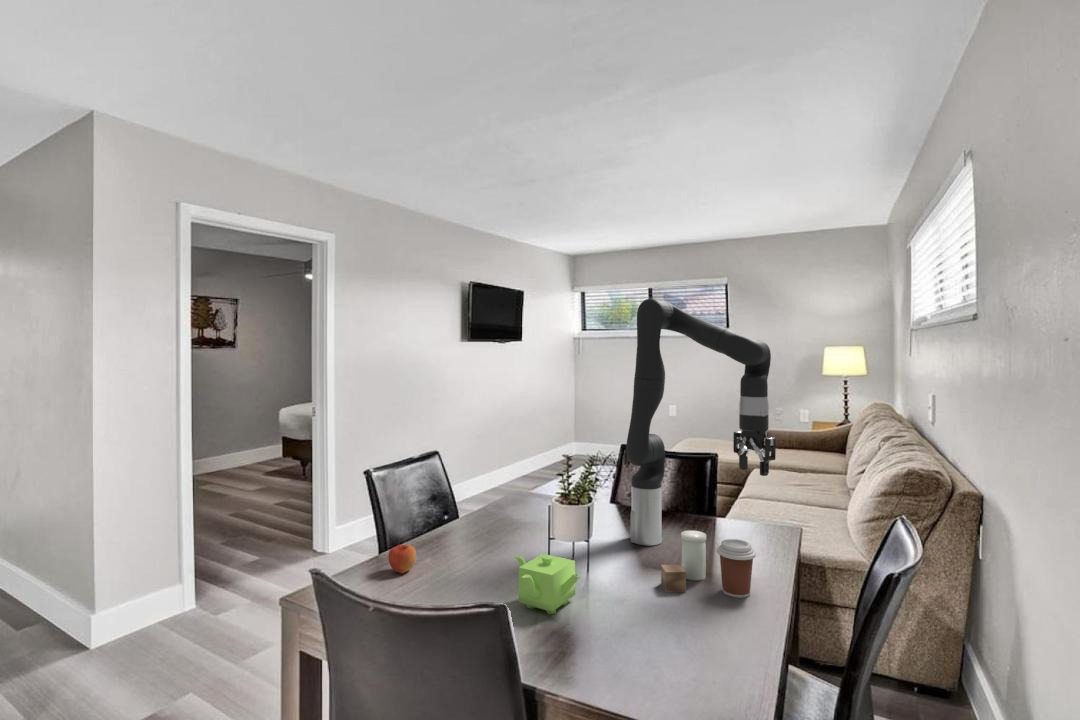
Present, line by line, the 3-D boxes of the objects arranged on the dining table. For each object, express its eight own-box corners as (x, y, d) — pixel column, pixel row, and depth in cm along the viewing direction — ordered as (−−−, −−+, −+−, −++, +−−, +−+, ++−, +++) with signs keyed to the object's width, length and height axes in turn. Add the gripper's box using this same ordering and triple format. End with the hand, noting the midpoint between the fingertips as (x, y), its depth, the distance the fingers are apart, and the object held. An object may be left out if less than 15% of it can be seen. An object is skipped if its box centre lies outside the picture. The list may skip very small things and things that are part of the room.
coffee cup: (723, 581, 146) (723, 535, 146) (760, 590, 140) (760, 541, 140) (711, 594, 138) (711, 545, 138) (750, 603, 133) (750, 552, 133)
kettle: (522, 622, 124) (522, 571, 124) (509, 596, 138) (508, 550, 138) (587, 614, 128) (587, 564, 128) (568, 589, 142) (567, 544, 142)
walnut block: (665, 592, 140) (665, 572, 140) (661, 584, 145) (661, 564, 145) (686, 592, 140) (685, 572, 140) (680, 583, 145) (680, 564, 145)
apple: (422, 569, 155) (421, 540, 155) (404, 579, 148) (404, 548, 148) (400, 565, 158) (400, 536, 158) (382, 574, 152) (382, 544, 151)
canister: (681, 579, 147) (681, 537, 147) (681, 570, 154) (681, 529, 153) (706, 581, 146) (706, 539, 146) (706, 572, 152) (705, 531, 152)
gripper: (725, 410, 161) (725, 468, 161) (761, 416, 148) (761, 479, 148) (746, 409, 164) (746, 466, 164) (784, 415, 150) (783, 476, 151)
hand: (753, 472), depth 156 cm, fingers open, 7 cm apart
